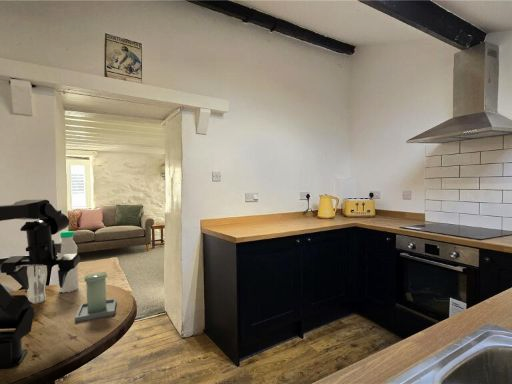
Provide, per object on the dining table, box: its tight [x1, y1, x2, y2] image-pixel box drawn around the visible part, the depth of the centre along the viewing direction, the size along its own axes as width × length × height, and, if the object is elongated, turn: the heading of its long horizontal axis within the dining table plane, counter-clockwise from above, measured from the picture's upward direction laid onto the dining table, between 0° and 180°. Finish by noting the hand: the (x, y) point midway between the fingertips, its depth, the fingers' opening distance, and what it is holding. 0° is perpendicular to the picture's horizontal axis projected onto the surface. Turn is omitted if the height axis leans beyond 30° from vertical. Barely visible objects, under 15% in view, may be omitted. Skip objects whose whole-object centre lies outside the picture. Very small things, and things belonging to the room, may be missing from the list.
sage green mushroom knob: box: [83, 272, 108, 313], centre depth 97 cm, size 7×7×12 cm
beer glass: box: [26, 265, 48, 305], centre depth 106 cm, size 7×7×15 cm
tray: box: [74, 297, 117, 323], centre depth 97 cm, size 11×11×2 cm
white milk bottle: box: [57, 230, 79, 294], centre depth 117 cm, size 7×7×25 cm
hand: (44, 288), depth 85 cm, fingers open, 9 cm apart
